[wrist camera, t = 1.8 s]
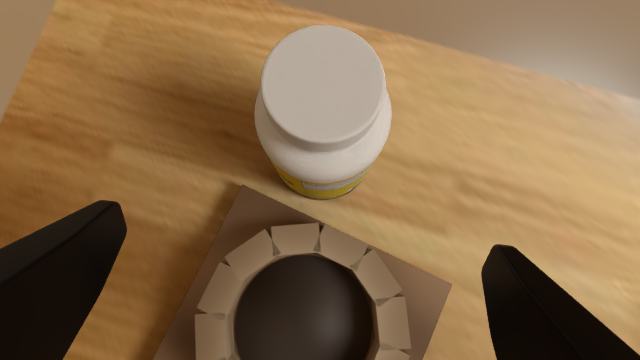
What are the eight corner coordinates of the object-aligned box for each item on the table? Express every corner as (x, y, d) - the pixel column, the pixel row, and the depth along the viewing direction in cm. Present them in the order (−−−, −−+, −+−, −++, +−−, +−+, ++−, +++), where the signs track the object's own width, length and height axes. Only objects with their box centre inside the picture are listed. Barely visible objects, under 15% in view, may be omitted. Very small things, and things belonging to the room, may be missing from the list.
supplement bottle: (268, 116, 22) (229, 13, 12) (360, 103, 22) (394, -9, 12) (280, 209, 21) (248, 176, 11) (376, 195, 21) (426, 150, 11)
